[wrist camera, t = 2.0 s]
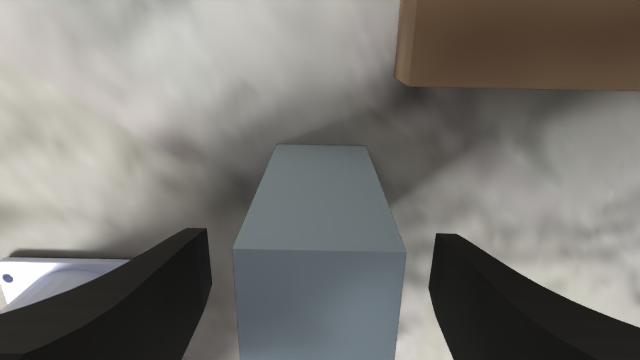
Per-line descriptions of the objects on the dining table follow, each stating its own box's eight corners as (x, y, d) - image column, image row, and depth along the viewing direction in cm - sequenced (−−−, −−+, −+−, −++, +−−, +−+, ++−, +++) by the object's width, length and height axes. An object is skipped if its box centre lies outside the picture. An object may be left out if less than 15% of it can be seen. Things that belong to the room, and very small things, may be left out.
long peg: (360, 225, 19) (391, 382, 10) (278, 223, 19) (241, 379, 10) (365, 145, 17) (406, 252, 9) (276, 144, 17) (231, 248, 9)
